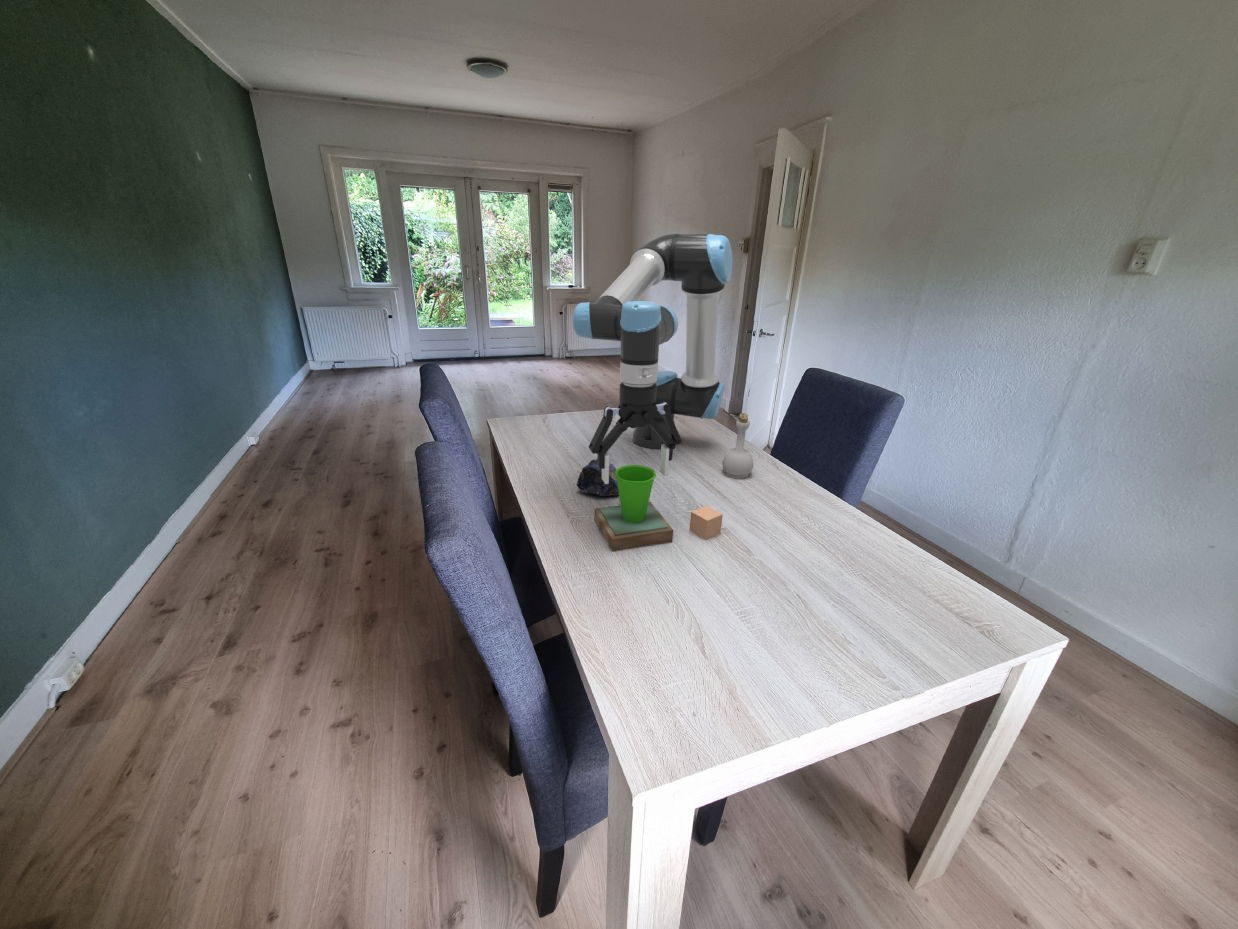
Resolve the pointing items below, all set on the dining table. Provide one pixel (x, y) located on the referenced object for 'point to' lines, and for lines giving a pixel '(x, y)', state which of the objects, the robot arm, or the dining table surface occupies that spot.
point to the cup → (634, 490)
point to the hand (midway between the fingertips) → (634, 477)
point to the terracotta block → (706, 522)
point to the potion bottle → (739, 453)
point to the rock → (597, 480)
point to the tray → (632, 528)
